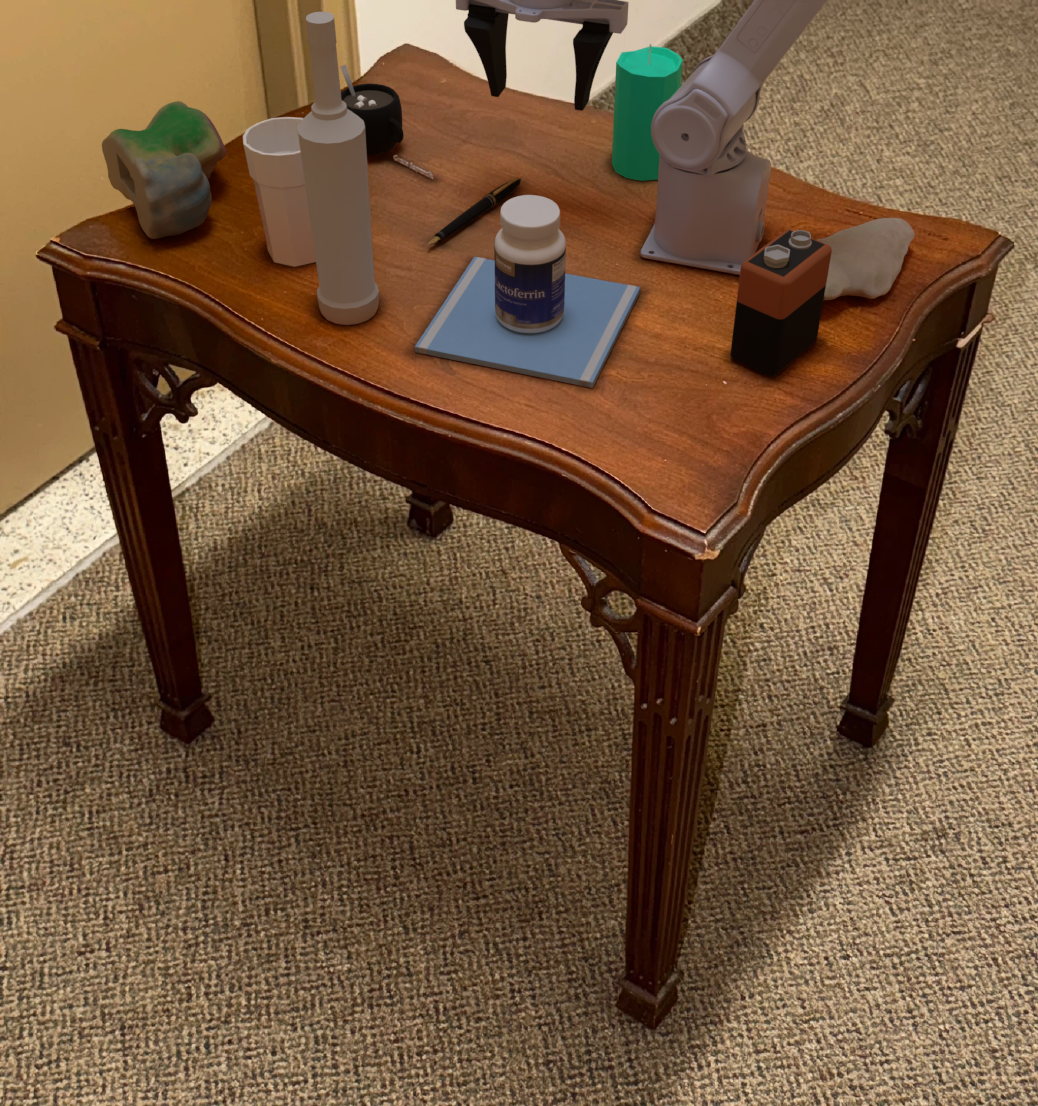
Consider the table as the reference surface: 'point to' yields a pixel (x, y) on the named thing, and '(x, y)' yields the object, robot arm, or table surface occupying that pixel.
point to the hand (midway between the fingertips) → (539, 98)
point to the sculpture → (166, 168)
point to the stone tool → (867, 258)
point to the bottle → (337, 187)
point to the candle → (641, 107)
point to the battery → (780, 301)
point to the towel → (552, 354)
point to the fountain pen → (477, 209)
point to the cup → (280, 189)
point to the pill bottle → (529, 265)
